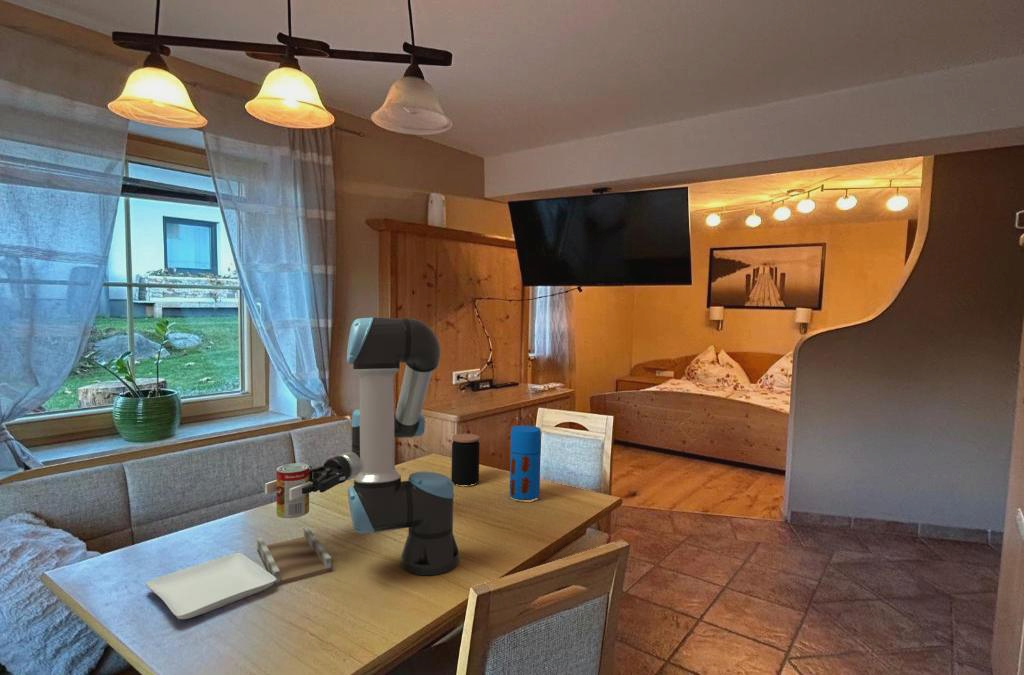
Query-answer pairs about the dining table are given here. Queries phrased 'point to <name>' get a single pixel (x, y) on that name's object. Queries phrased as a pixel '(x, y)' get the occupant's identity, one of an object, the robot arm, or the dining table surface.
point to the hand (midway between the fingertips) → (278, 491)
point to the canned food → (286, 480)
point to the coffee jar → (465, 459)
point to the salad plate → (210, 585)
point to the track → (294, 558)
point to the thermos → (525, 462)
